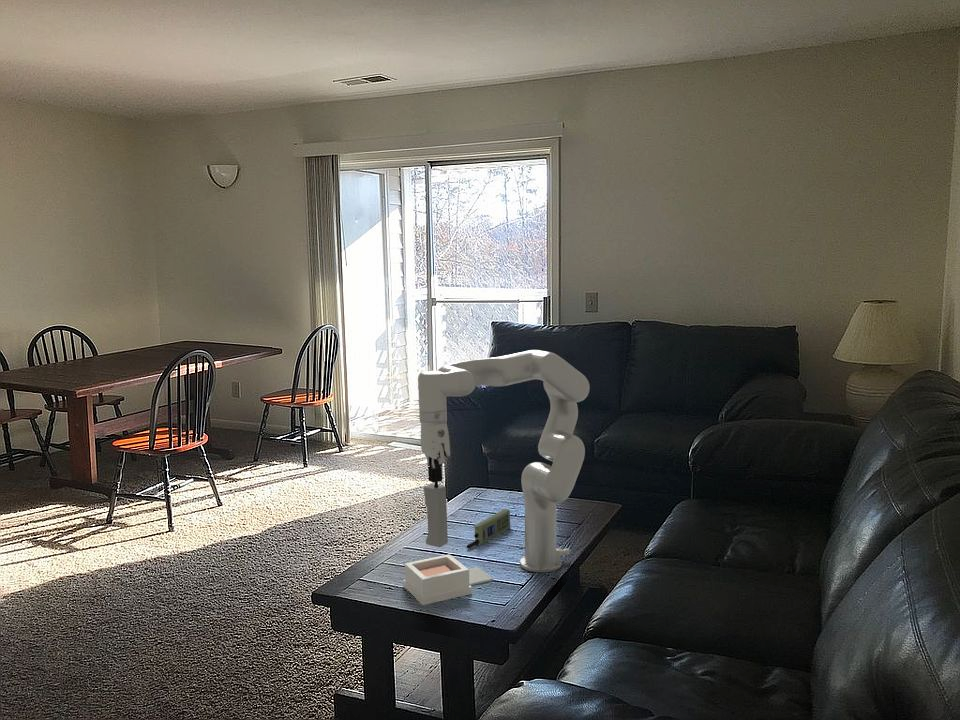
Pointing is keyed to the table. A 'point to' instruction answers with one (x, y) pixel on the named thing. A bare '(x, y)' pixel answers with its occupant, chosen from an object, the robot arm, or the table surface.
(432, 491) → the vintage mobile phone
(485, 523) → the handheld radio
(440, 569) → the button
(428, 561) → the frame
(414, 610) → the table surface
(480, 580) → the light gray square panel
